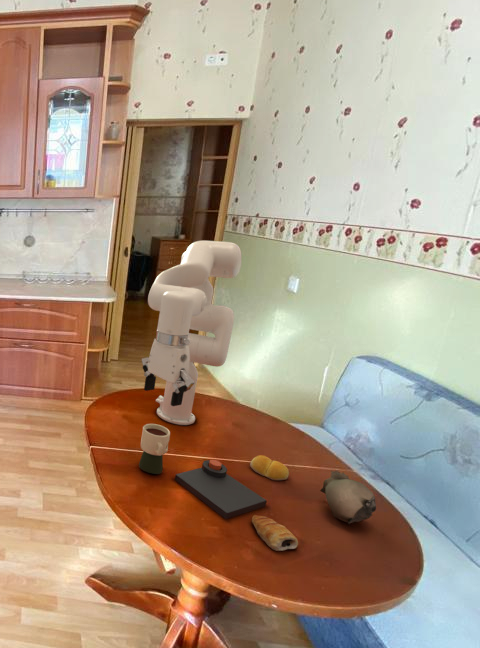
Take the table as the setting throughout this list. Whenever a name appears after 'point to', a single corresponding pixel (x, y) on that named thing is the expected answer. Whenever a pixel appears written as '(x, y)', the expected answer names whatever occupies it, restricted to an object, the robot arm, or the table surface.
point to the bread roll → (269, 468)
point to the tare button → (215, 464)
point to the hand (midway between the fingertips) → (161, 397)
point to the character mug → (153, 447)
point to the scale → (220, 491)
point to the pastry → (274, 533)
